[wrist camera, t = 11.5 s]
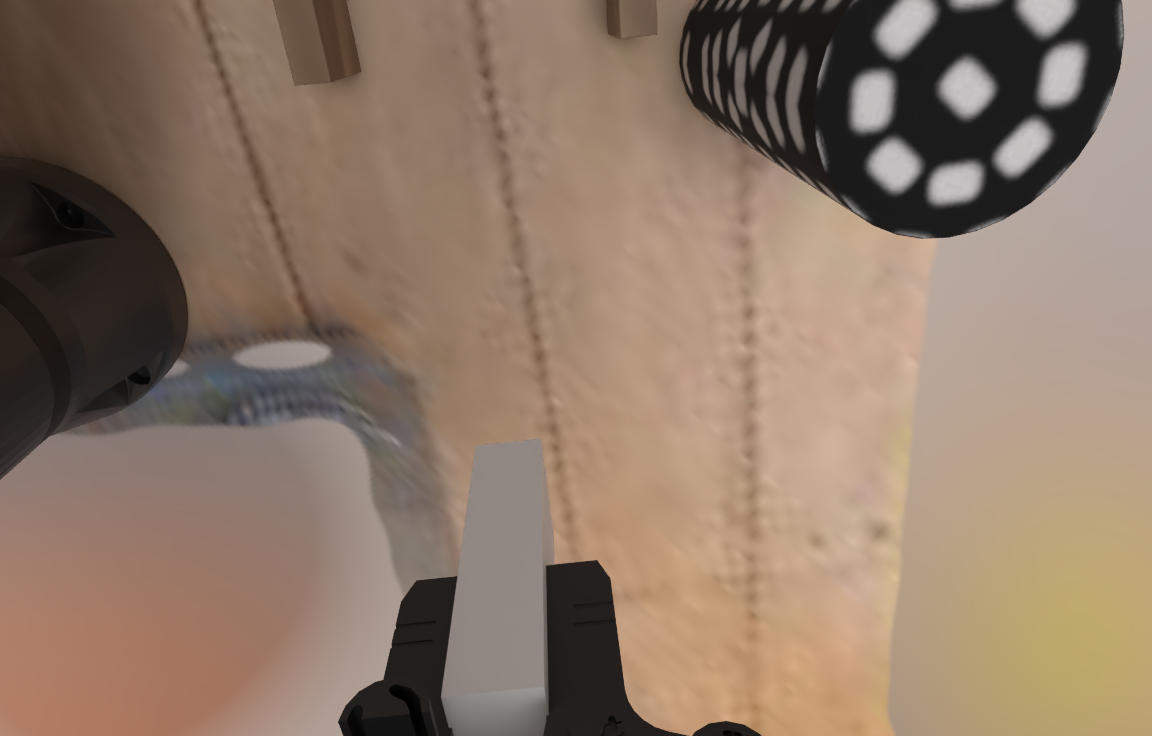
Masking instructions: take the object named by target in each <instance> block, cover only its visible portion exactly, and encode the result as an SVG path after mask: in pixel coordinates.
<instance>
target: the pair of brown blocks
mask: <svg viewBox="0 0 1152 736" xmlns="http://www.w3.org/2000/svg"><path fill="white" fill-rule="evenodd" d="M273 2H274V6H275V10H276V14H277V18H278V22H279V26H280V30H281V34H282V37H283V41H284V45H285V49H286V53H287V57H288V61H289V65H290V69H291V73H292V77H293V81H294V85H295V86H297V85H307V84H317V83H327V82H333V81H336V80H338V79H341V78H344V77H347V76H350V75H353V74H356V73H358V72H361V69H360V64H359V59H358V55H357V50H356V45H355V40H354V36H353V31H352V26H351V22H350V17H349V12H348V7H347V3H346V0H273ZM606 4H607V20H608V34H610V35H613V36H616V37H619V38H629V37H639V36H649V35H657V9H656V0H606Z"/></svg>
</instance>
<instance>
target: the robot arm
mask: <svg viewBox="0 0 1152 736" xmlns="http://www.w3.org/2000/svg"><path fill="white" fill-rule="evenodd" d="M186 329H187V306H186V300H185V294H184V290H183V287H182V284H181V280H180V278H179V275H178V273H177V270H176V268H175V266H174V264H173V262H172V260H171V258H170V256H169V255H168V253H167V251H166V250H165V248H164V247H163V245H162V244H161V242H160V241H159V239H158V238H157V237H156V236H155V234H154V233H153V232H152V231H151V229H150V228H149V227H148V226H147V225H146V224H145V223H144V222H143V221H142V220H141V218H140V217H139V216H138V215H136V214H135V213H134V212H133V211H132V210H131V209H130V208H129V207H128V206H126V205H125V204H124V203H123V202H122V201H120V200H119V199H118V198H116V197H115V196H113V195H112V194H111V193H109V192H108V191H106V190H105V189H103V188H102V187H100V186H98V185H96V184H95V183H93V182H91V181H89V180H87V179H85V178H83V177H81V176H79V175H77V174H75V173H73V172H70V171H68V170H65V169H62V168H60V167H57V166H54V165H50V164H47V163H43V162H38V161H34V160H28V159H22V158H11V157H0V479H2V478H3V477H4V476H5V475H6V474H7V473H8V472H9V471H11V470H12V469H13V468H14V467H15V466H16V465H17V464H18V463H20V462H21V461H22V460H23V459H24V458H25V457H26V456H27V455H29V454H30V453H31V452H32V451H33V450H34V449H35V448H36V447H37V446H38V445H39V444H41V443H42V442H43V441H44V440H45V439H47V438H48V437H49V436H52V435H54V434H57V433H60V432H63V431H66V430H69V429H71V428H74V427H77V426H80V425H83V424H86V423H88V422H91V421H94V420H97V419H100V418H103V417H105V416H108V415H111V414H114V413H116V412H118V411H120V410H123V409H124V408H126V407H128V406H130V405H131V404H133V403H134V402H136V401H137V400H139V399H140V398H142V397H143V396H144V395H145V394H146V393H148V392H149V391H150V390H151V389H152V388H153V387H154V386H155V385H156V384H157V383H158V382H159V381H160V380H161V379H162V378H163V377H164V376H165V375H166V374H167V373H168V371H169V370H170V369H171V368H172V366H173V364H174V363H175V362H176V360H177V358H178V356H179V354H180V352H181V349H182V347H183V343H184V340H185V335H186ZM338 723H339V725H340V728H341V730H342V733H343V736H687V735H682V734H677V733H673V732H668V731H665V730H662V729H659V728H656V727H654V726H652V725H651V724H649V723H647V722H646V721H644V720H643V719H642V718H641V717H640V716H639V715H638V714H637V713H636V712H635V711H634V710H633V708H632V707H631V705H630V703H629V701H628V699H627V695H626V692H625V687H624V679H623V672H622V664H621V656H620V649H619V641H618V634H617V626H616V618H615V611H614V604H613V596H612V588H611V580H610V577H609V576H608V575H607V573H606V572H605V570H604V569H603V568H602V566H601V565H600V564H599V562H598V561H597V560H594V561H585V562H575V563H565V564H556V565H554V536H553V525H552V518H551V510H550V503H549V495H548V488H547V480H546V472H545V465H544V457H543V450H542V442H541V439H534V440H524V441H514V442H505V443H495V444H485V445H476V446H475V453H474V461H473V468H472V475H471V482H470V490H469V497H468V504H467V512H466V519H465V526H464V533H463V541H462V548H461V555H460V562H459V570H458V576H456V577H446V578H437V579H427V580H418V581H416V582H415V583H414V585H413V586H412V587H411V589H410V590H409V592H408V593H407V594H406V596H405V597H404V599H403V600H402V601H401V605H400V609H399V614H398V618H397V622H396V629H395V631H394V636H393V640H392V648H391V649H390V653H389V657H388V662H387V666H386V671H385V675H384V680H382V681H377V682H375V683H373V684H371V685H370V686H368V687H366V688H364V689H363V690H361V691H359V692H358V693H357V694H356V695H355V696H354V697H353V699H352V700H351V701H350V702H349V703H348V704H347V705H346V706H345V708H344V710H343V712H342V715H341V717H340V719H339V721H338ZM693 736H761V735H760V734H759V733H757V732H755V731H754V730H752V729H750V728H749V727H747V726H745V725H743V724H738V723H733V722H728V721H724V722H717V723H710V724H708V725H706V726H704V727H703V728H701V729H699V730H697V731H696V732H695V733H694V734H693Z"/></svg>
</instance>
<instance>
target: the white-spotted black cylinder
mask: <svg viewBox="0 0 1152 736" xmlns="http://www.w3.org/2000/svg"><path fill="white" fill-rule="evenodd" d="M1123 40H1124V25H1123V9H1122V1H1121V0H697V2H696V3H695V5H694V6H693V8H692V10H691V11H690V14H689V16H688V19H687V21H686V24H685V26H684V29H683V34H682V39H681V43H680V69H681V76H682V80H683V83H684V86H685V89H686V92H687V94H688V96H689V97H690V99H691V101H692V103H693V104H694V106H695V107H696V108H697V109H698V110H699V112H700V113H701V114H702V115H703V116H704V117H705V118H707V119H708V120H709V121H711V122H712V123H714V124H715V125H717V126H718V127H720V128H721V129H723V130H724V131H726V132H728V133H729V134H731V135H732V136H734V137H735V138H737V139H739V140H740V141H742V142H743V143H745V144H746V145H748V146H749V147H751V148H753V149H754V150H756V151H757V152H759V153H760V154H762V155H764V156H765V157H767V158H768V159H770V160H771V161H773V162H775V163H776V164H778V165H779V166H781V167H782V168H784V169H786V170H787V171H789V172H790V173H792V174H793V175H795V176H797V177H798V178H800V179H801V180H803V181H804V182H806V183H808V184H809V185H811V186H812V187H814V188H815V189H817V190H819V191H820V192H822V193H823V194H825V195H826V196H828V197H830V198H831V199H833V200H834V201H836V202H837V203H839V204H841V205H842V206H844V207H845V208H847V209H848V210H850V211H851V212H853V213H855V214H856V215H858V216H859V217H861V218H862V219H864V220H866V221H867V222H869V223H870V224H872V225H874V226H876V227H879V228H881V229H884V230H886V231H889V232H891V233H894V234H896V235H902V236H909V237H915V238H921V239H924V238H947V237H953V236H957V235H961V234H966V233H970V232H974V231H977V230H980V229H982V228H985V227H987V226H990V225H992V224H994V223H997V222H999V221H1001V220H1004V219H1005V218H1007V217H1009V216H1010V215H1012V214H1013V213H1015V212H1017V211H1018V210H1020V209H1022V208H1023V207H1025V206H1026V205H1028V204H1030V203H1031V202H1032V201H1033V200H1035V199H1036V198H1037V197H1038V196H1040V195H1041V194H1042V193H1043V192H1044V191H1045V190H1047V189H1048V188H1049V187H1050V186H1051V185H1053V184H1054V183H1055V182H1056V181H1057V180H1058V179H1059V177H1060V176H1061V175H1062V174H1063V173H1064V172H1065V171H1066V170H1067V169H1068V168H1069V166H1070V165H1071V164H1072V163H1073V162H1074V161H1075V160H1076V159H1077V157H1078V156H1079V154H1080V153H1081V151H1082V150H1083V149H1084V147H1085V146H1086V144H1087V143H1088V141H1089V139H1090V138H1091V137H1092V135H1093V134H1094V132H1095V131H1096V129H1097V127H1098V125H1099V123H1100V120H1101V119H1102V116H1103V114H1104V112H1105V110H1106V108H1107V106H1108V104H1109V102H1110V100H1111V96H1112V93H1113V90H1114V86H1115V83H1116V80H1117V77H1118V73H1119V70H1120V65H1121V57H1122V49H1123Z"/></svg>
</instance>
